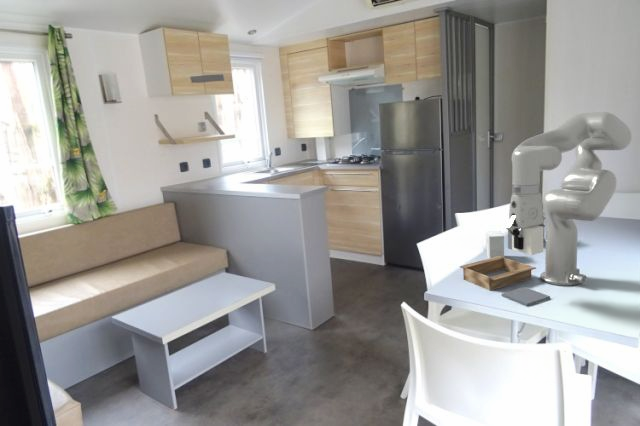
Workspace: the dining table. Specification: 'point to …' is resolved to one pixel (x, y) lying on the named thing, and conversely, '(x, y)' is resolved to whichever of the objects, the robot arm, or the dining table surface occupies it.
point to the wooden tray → (478, 269)
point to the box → (529, 240)
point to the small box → (495, 244)
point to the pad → (525, 296)
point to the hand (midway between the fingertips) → (525, 246)
